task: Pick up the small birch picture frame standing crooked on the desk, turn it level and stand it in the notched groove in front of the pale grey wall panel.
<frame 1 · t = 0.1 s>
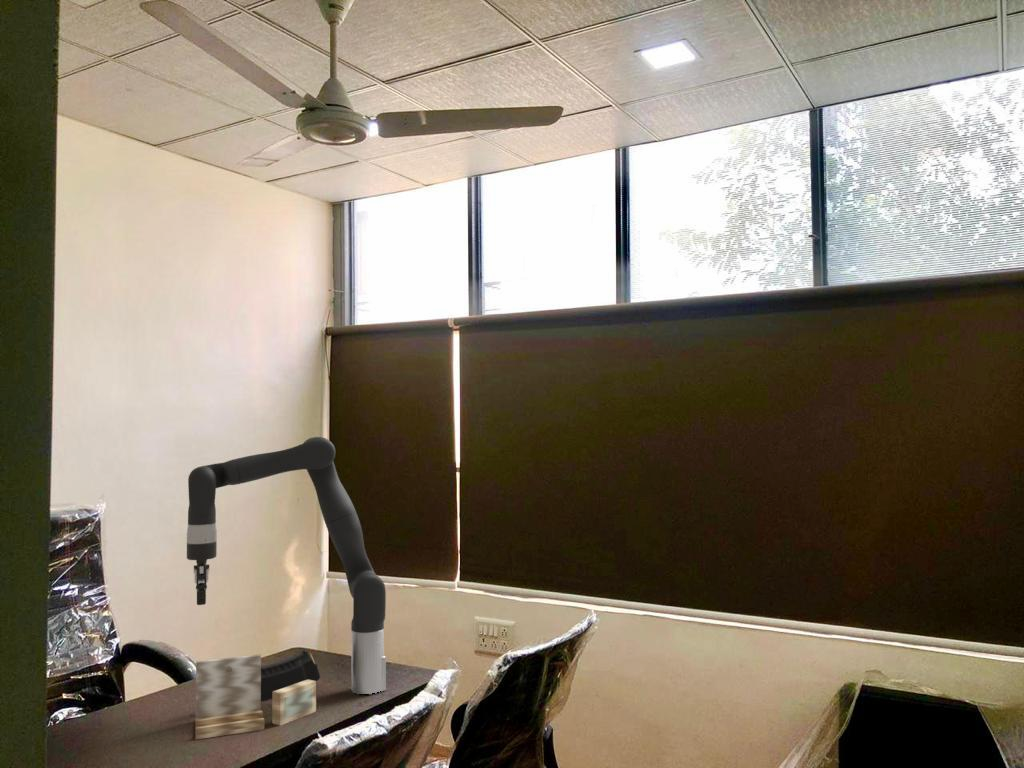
hand: (201, 601, 213), 29 cm above the table, tool pointing down, fingers open, 8 cm apart
rack: (229, 725, 201), on the table
magazine: (268, 699, 222), on the table
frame: (294, 717, 206), on the table
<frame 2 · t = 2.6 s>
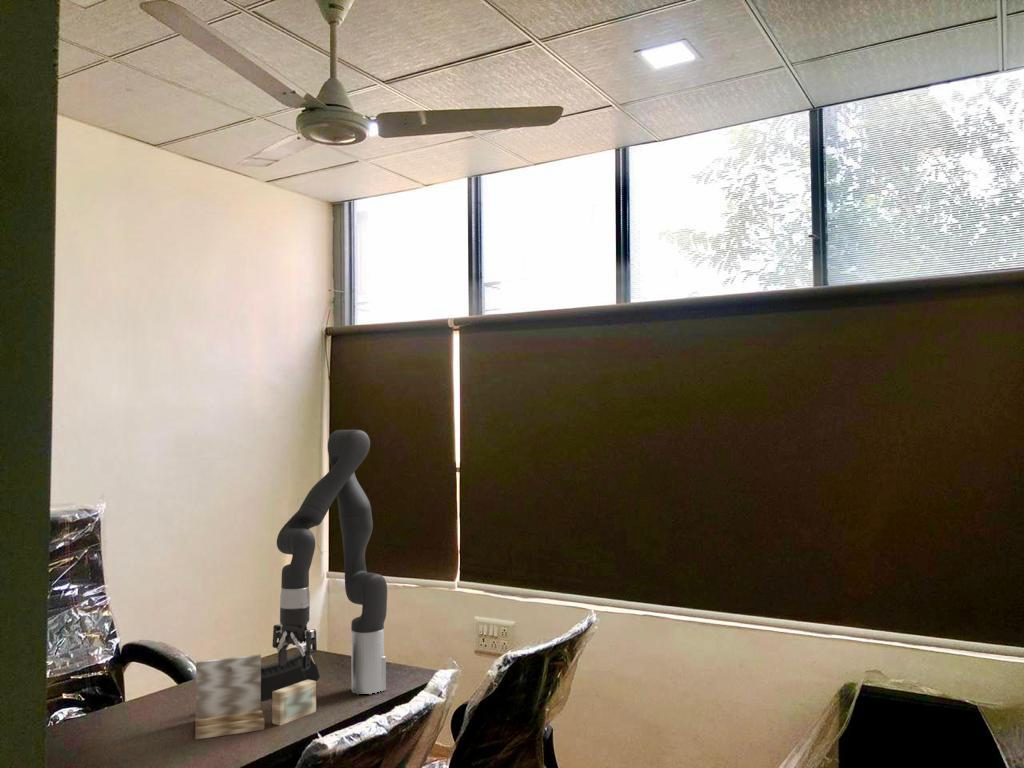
hand: (294, 667, 207), 13 cm above the table, tool pointing down, fingers open, 8 cm apart
nothing on the table moved.
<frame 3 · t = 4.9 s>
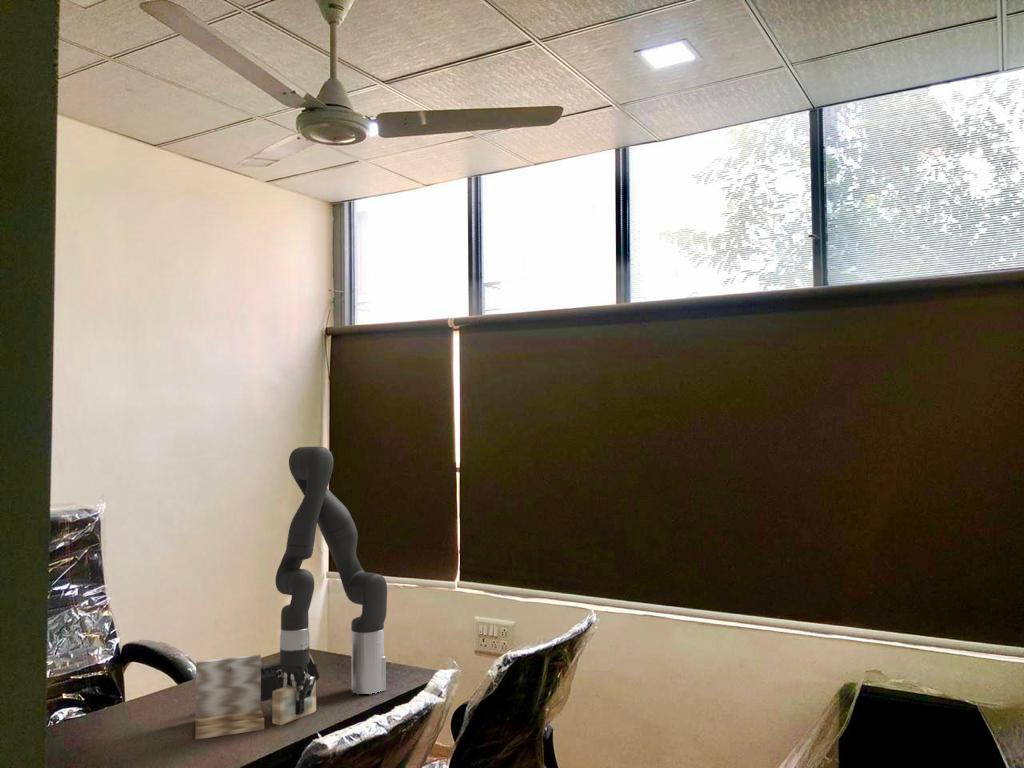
hand: (294, 712, 206), 1 cm above the table, tool pointing down, fingers closed on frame, 3 cm apart
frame: (294, 717, 206), on the table, touching gripper
everything else where it was.
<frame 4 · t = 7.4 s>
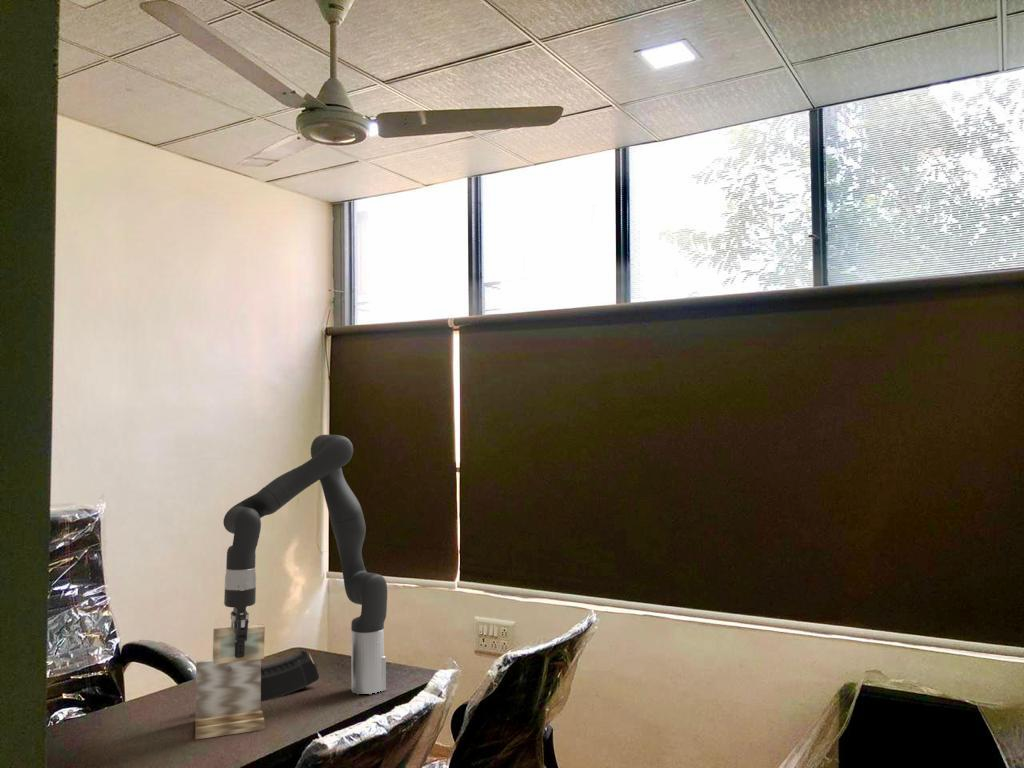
hand: (238, 655, 200), 18 cm above the table, tool pointing down, fingers closed on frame, 3 cm apart
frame: (238, 660, 200), point 17 cm above the table, touching gripper
everything else where it was.
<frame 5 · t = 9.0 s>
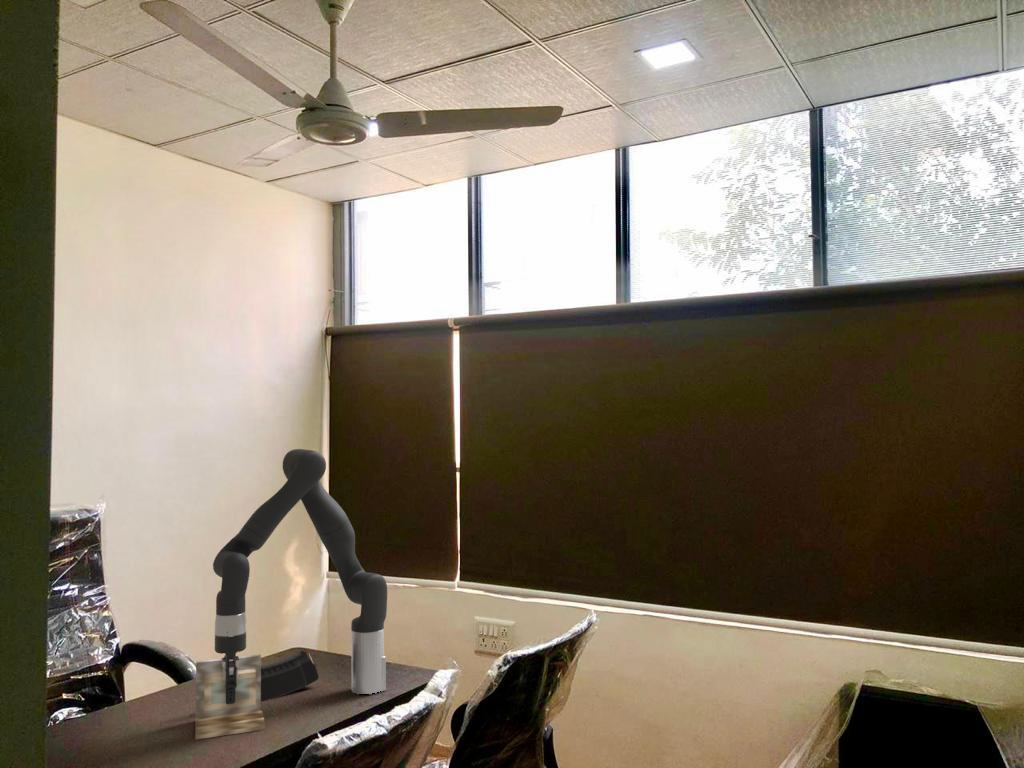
hand: (230, 700, 199), 7 cm above the table, tool pointing down, fingers closed on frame, 3 cm apart
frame: (230, 705, 198), point 6 cm above the table, touching gripper
everything else where it was.
when the fingers open (4 cm above the table, at t = 10.4 s): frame drops 1 cm, resting on rack.
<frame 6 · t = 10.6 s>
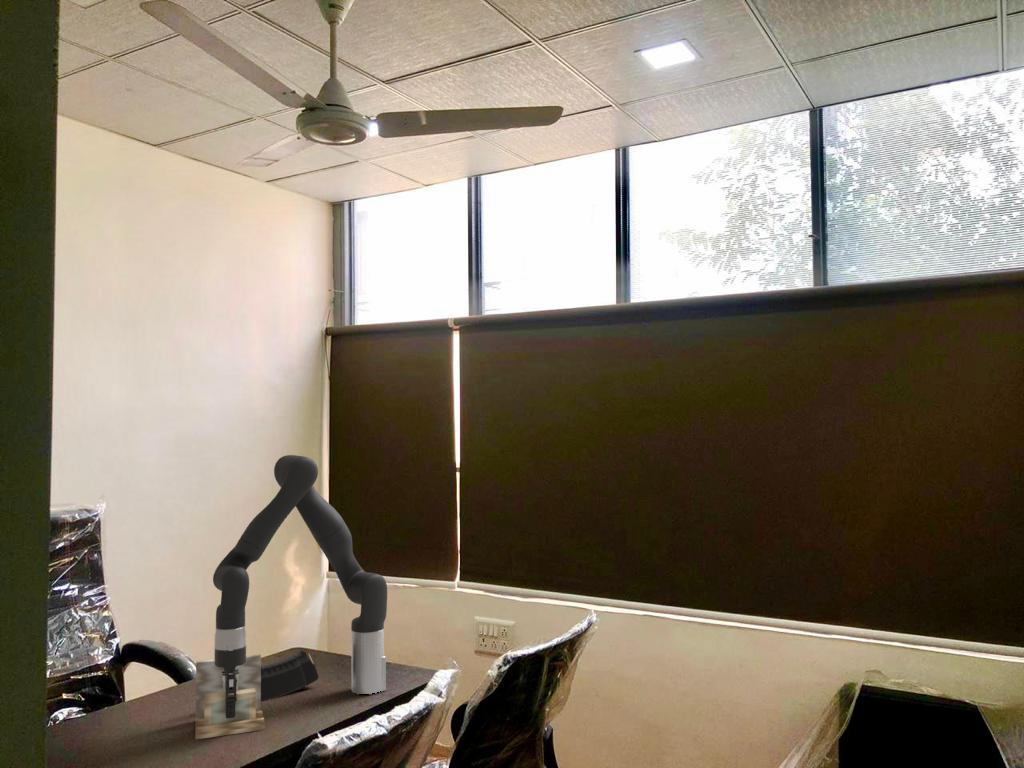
hand: (230, 713, 198), 4 cm above the table, tool pointing down, fingers open, 5 cm apart
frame: (230, 725, 198), point 1 cm above the table, touching rack
everything else where it was.
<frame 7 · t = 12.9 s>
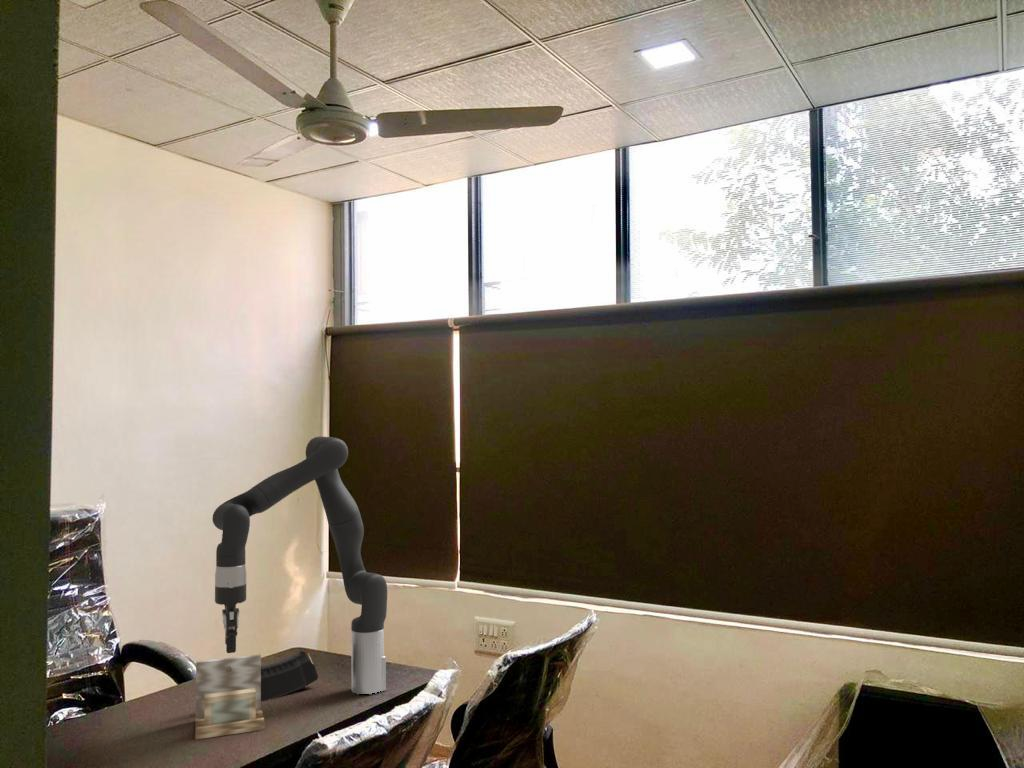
hand: (230, 648, 199), 20 cm above the table, tool pointing down, fingers open, 8 cm apart
nothing on the table moved.
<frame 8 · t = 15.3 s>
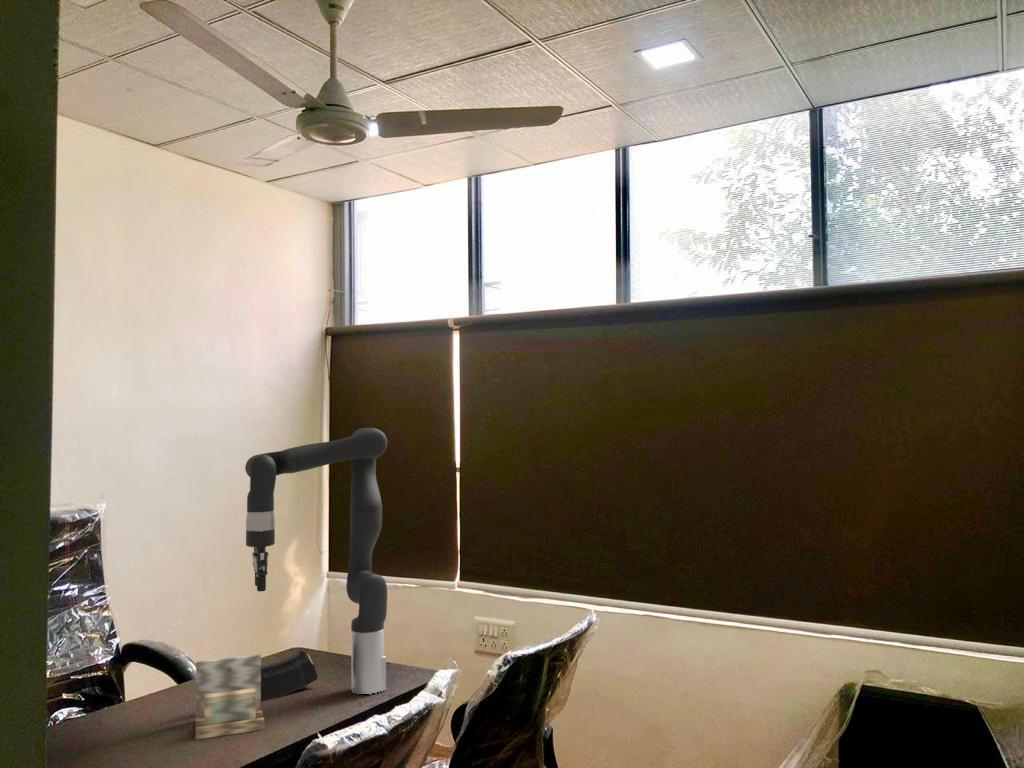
hand: (260, 588, 215), 32 cm above the table, tool pointing down, fingers open, 8 cm apart
nothing on the table moved.
at the end: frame inside the target area on the rack (0.1 cm from its centre), point 1.0 cm above the rack's base; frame tilted 0°; the gripper is holding nothing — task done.
